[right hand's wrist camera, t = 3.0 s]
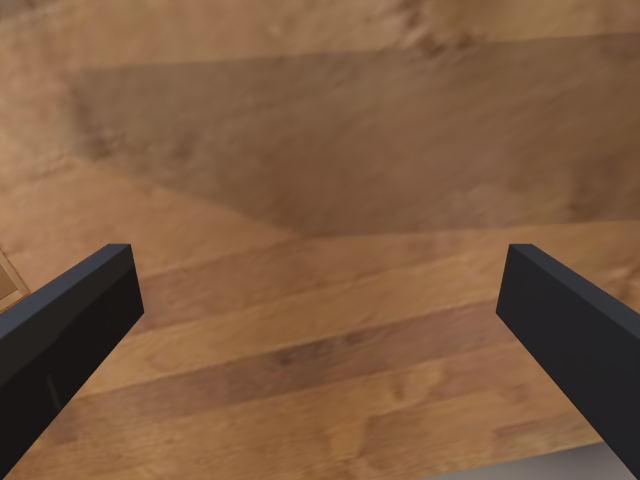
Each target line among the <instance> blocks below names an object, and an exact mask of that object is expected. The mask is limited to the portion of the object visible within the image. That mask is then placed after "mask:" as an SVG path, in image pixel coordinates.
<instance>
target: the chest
mask: <svg viewBox="0 0 640 480" xmlns="http://www.w3.org/2000/svg"><path fill="white" fill-rule="evenodd" d="M28 293H30V291H29V290H28V288H27V287H26V286H25V284H24V283H23V281H22V280H21V278H20V277H19V275H18V274H17V273H16V271H15V270H14V268H13V267H12V265H11V264H10V263H9V261H8V260H7V258H6V257H5V255H4V254H3V253H2V251H1V250H0V311H2V310H3V309H5V308H6V307H8V306H10V305H11V304H13V303H14V302H16V301H17V300H19V299H20V298H22V297H24V296H25V295H27V294H28Z"/></svg>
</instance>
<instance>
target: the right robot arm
mask: <svg viewBox="0 0 640 480" xmlns="http://www.w3.org/2000/svg"><path fill="white" fill-rule="evenodd" d="M143 314H144V308H143V303H142V298H141V293H140V288H139V283H138V278H137V273H136V268H135V263H134V259H133V254H132V249H131V244H107V245H106V246H104V247H103V248H101V249H100V250H98V251H97V252H95V253H94V254H92V255H91V256H89V257H88V258H86V259H84V260H83V261H81V262H80V263H78V264H77V265H75V266H74V267H72V268H71V269H69V270H68V271H66V272H65V273H63V274H61V275H60V276H58V277H57V278H55V279H54V280H52V281H51V282H49V283H48V284H46V285H45V286H43V287H42V288H40V289H38V290H37V291H35V292H34V293H32V294H31V295H29V296H28V297H26V298H25V299H23V300H22V301H20V302H19V303H17V304H15V305H14V306H12V307H11V308H9V309H8V310H6V311H5V312H3V313H2V314H0V480H3V479H4V477H5V476H6V475H7V474H8V473H9V471H10V470H11V469H12V468H13V467H14V466H15V464H16V463H17V462H18V461H19V460H20V458H21V457H22V456H23V455H24V454H25V453H26V451H27V450H28V449H29V448H30V447H31V446H32V444H33V443H34V442H35V441H36V440H37V438H38V437H39V436H40V435H41V434H42V433H43V431H44V430H45V429H46V428H47V427H48V426H49V424H50V423H51V422H52V421H53V420H54V418H55V417H56V416H57V415H58V414H59V413H60V411H61V410H62V409H63V408H64V407H65V406H66V404H67V403H68V402H69V401H70V400H71V398H72V397H73V396H74V395H75V394H76V393H77V391H78V390H79V389H80V388H81V387H82V386H83V384H84V383H85V382H86V381H87V380H88V378H89V377H90V376H91V375H92V374H93V373H94V371H95V370H96V369H97V368H98V367H99V365H100V364H101V363H102V362H103V361H104V360H105V358H106V357H107V356H108V355H109V354H110V353H111V351H112V350H113V349H114V348H115V347H116V345H117V344H118V343H119V342H120V341H121V340H122V338H123V337H124V336H125V335H126V334H127V333H128V331H129V330H130V329H131V328H132V327H133V325H134V324H135V323H136V322H137V321H138V320H139V318H140V317H141V316H142V315H143ZM496 314H497V315H498V316H499V317H500V318H501V320H502V321H503V322H504V323H505V324H506V325H507V327H508V328H509V329H510V330H511V331H512V333H513V334H514V335H515V336H516V337H517V338H518V340H519V341H520V342H521V343H522V344H523V345H524V347H525V348H526V349H527V350H528V351H529V353H530V354H531V355H532V356H533V357H534V358H535V360H536V361H537V362H538V363H539V364H540V365H541V367H542V368H543V369H544V370H545V371H546V373H547V374H548V375H549V376H550V377H551V378H552V380H553V381H554V382H555V383H556V384H557V386H558V387H559V388H560V389H561V390H562V391H563V393H564V394H565V395H566V396H567V397H568V398H569V400H570V401H571V402H572V403H573V404H574V406H575V407H576V408H577V409H578V410H579V411H580V413H581V414H582V415H583V416H584V417H585V418H586V420H587V421H588V422H589V423H590V424H591V426H592V427H593V428H594V429H595V430H596V431H597V433H598V434H599V435H600V436H601V437H602V438H603V440H604V441H605V442H606V443H607V444H608V446H609V447H610V448H611V449H612V450H613V451H614V453H615V454H616V455H617V456H618V457H619V458H620V460H621V461H622V462H623V463H624V464H625V466H626V467H627V468H628V469H629V470H630V471H631V473H632V474H633V475H634V476H635V477H636V479H637V480H640V314H638V313H637V312H635V311H634V310H632V309H631V308H629V307H628V306H626V305H625V304H623V303H621V302H620V301H618V300H617V299H615V298H614V297H612V296H611V295H609V294H608V293H606V292H605V291H603V290H602V289H600V288H598V287H597V286H595V285H594V284H592V283H591V282H589V281H588V280H586V279H585V278H583V277H582V276H580V275H579V274H577V273H575V272H574V271H572V270H571V269H569V268H568V267H566V266H565V265H563V264H562V263H560V262H559V261H557V260H556V259H554V258H552V257H551V256H549V255H548V254H546V253H545V252H543V251H542V250H540V249H539V248H537V247H536V246H534V245H533V244H509V249H508V254H507V259H506V263H505V268H504V273H503V278H502V283H501V288H500V293H499V298H498V303H497V308H496Z"/></svg>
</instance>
